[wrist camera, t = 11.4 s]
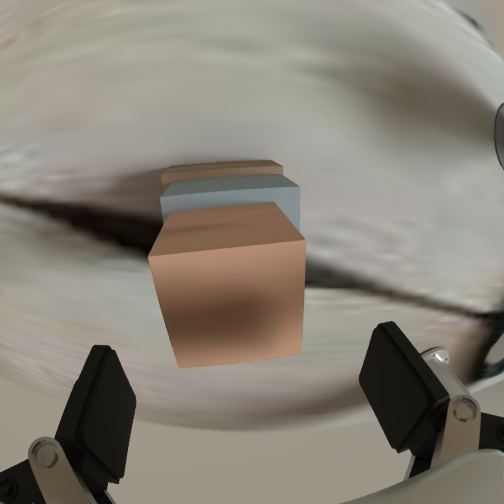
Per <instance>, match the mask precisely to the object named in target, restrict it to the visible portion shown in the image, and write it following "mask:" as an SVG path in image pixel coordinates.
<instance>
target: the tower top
mask: <svg viewBox="0 0 504 504" xmlns="http://www.w3.org/2000/svg"><path fill="white" fill-rule="evenodd" d="M267 202H275V203H276V204H277V206H278V207H279V208H280V209H281V210H282V212H283V213H284V214H285V215H286V216H287V218H288V219H289V220H290V221H291V222H292V224H293V225H294V226H295V227H296V229H297V230H298V231H299V223H300V186H298V185H297V184H295V183H294V182H292V181H291V180H289V179H288V178H286V177H285V176H283V175H281V174H270V175H250V176H234V177H221V178H209V179H198V180H187V181H178V182H172V183H171V184H170V186H169V187H168V188H167V189H166V190H165V192H164V193H163V194H162V195H161V196H160V203H161V210H162V217H163V224H164V223H165V221H166V219H167V217H168V216H169V214H170V213H171V212H179V211H188V210H196V209H205V208H214V207H224V206H234V205H244V204H255V203H267Z"/></svg>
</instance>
